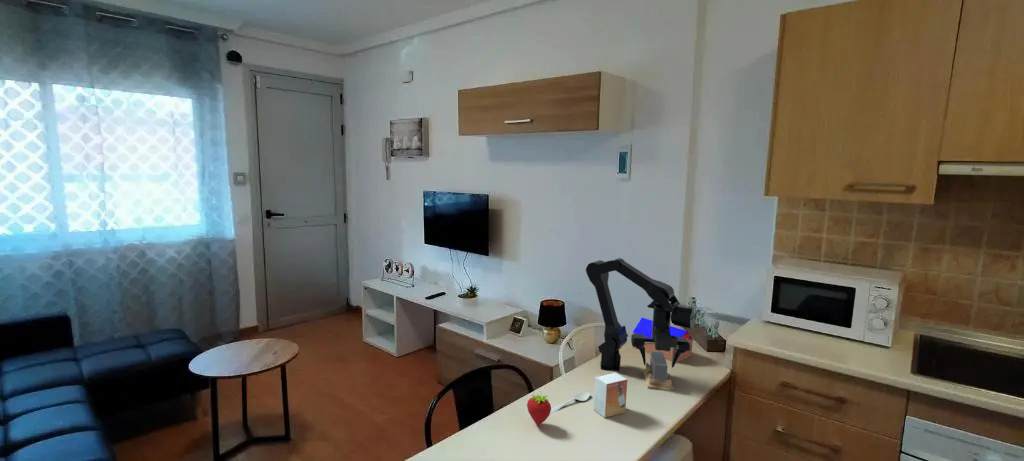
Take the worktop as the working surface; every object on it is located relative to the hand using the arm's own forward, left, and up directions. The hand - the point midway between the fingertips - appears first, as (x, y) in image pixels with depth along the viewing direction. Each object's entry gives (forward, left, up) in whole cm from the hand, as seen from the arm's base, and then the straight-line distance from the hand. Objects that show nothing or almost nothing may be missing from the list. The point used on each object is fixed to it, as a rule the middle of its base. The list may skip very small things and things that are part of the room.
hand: (658, 366), depth 165 cm
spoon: (-30, -24, -6) cm, 39 cm away
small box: (-17, -25, -6) cm, 31 cm away
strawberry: (-37, -37, -5) cm, 53 cm away
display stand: (0, 0, -5) cm, 5 cm away
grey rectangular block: (0, 0, -2) cm, 2 cm away
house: (+5, +28, -6) cm, 29 cm away
